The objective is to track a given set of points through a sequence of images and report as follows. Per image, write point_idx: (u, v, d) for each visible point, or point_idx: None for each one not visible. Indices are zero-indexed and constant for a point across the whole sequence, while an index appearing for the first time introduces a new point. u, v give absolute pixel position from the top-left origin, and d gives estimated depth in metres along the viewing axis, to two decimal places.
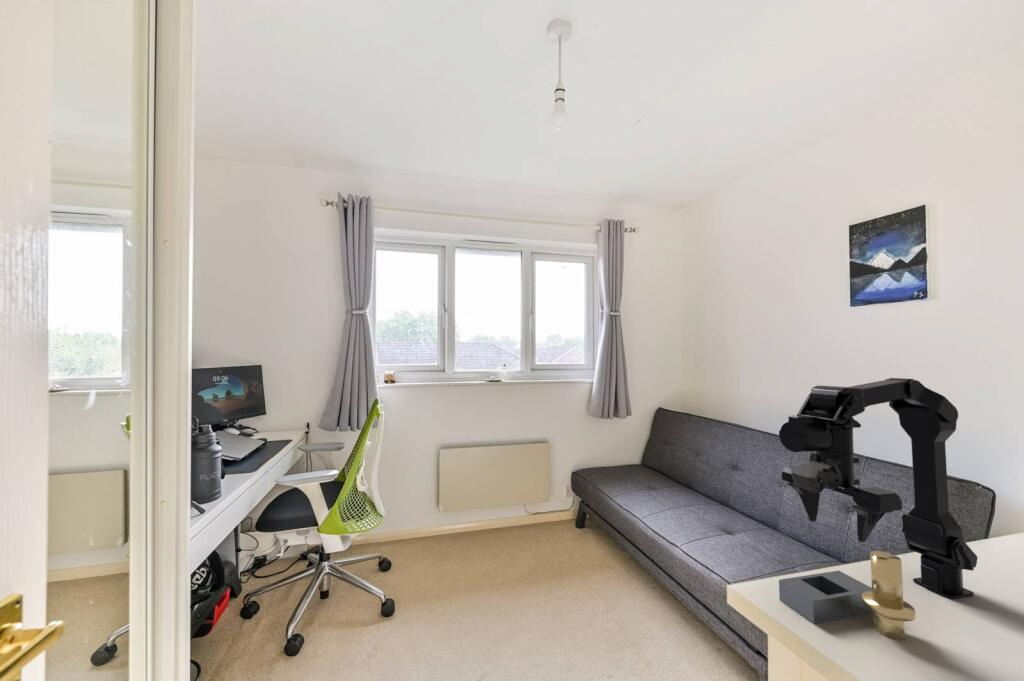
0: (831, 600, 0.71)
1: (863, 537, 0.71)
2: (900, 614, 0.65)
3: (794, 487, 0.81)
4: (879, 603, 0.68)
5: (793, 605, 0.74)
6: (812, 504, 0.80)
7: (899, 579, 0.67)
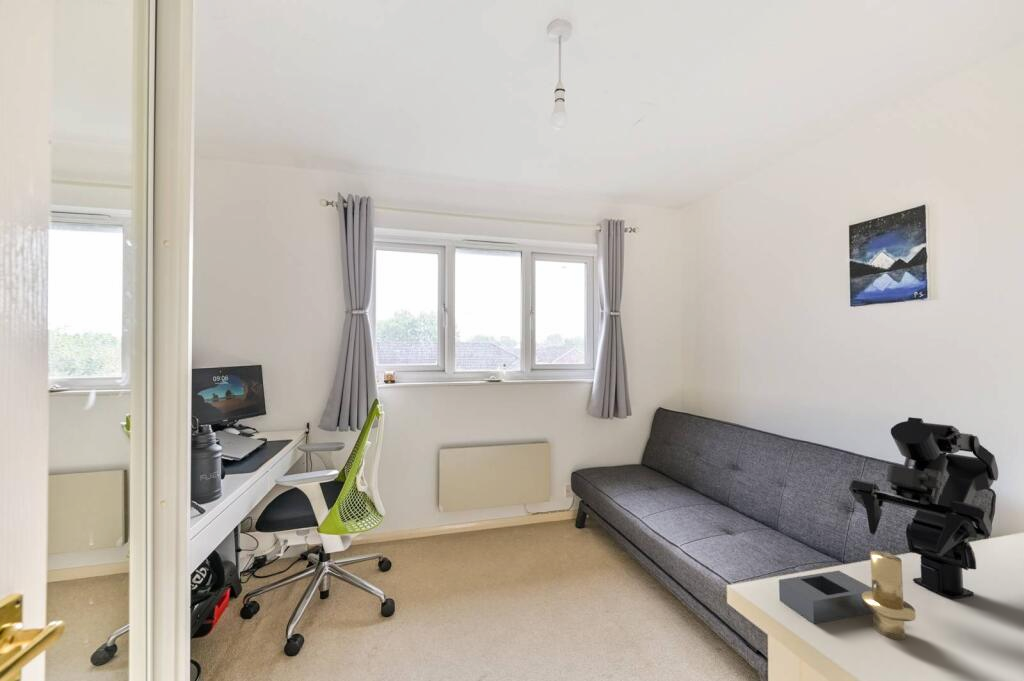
0: (831, 600, 0.71)
1: (943, 549, 0.69)
2: (900, 614, 0.65)
3: (865, 495, 0.80)
4: (879, 603, 0.68)
5: (793, 605, 0.74)
6: (875, 519, 0.78)
7: (899, 579, 0.67)
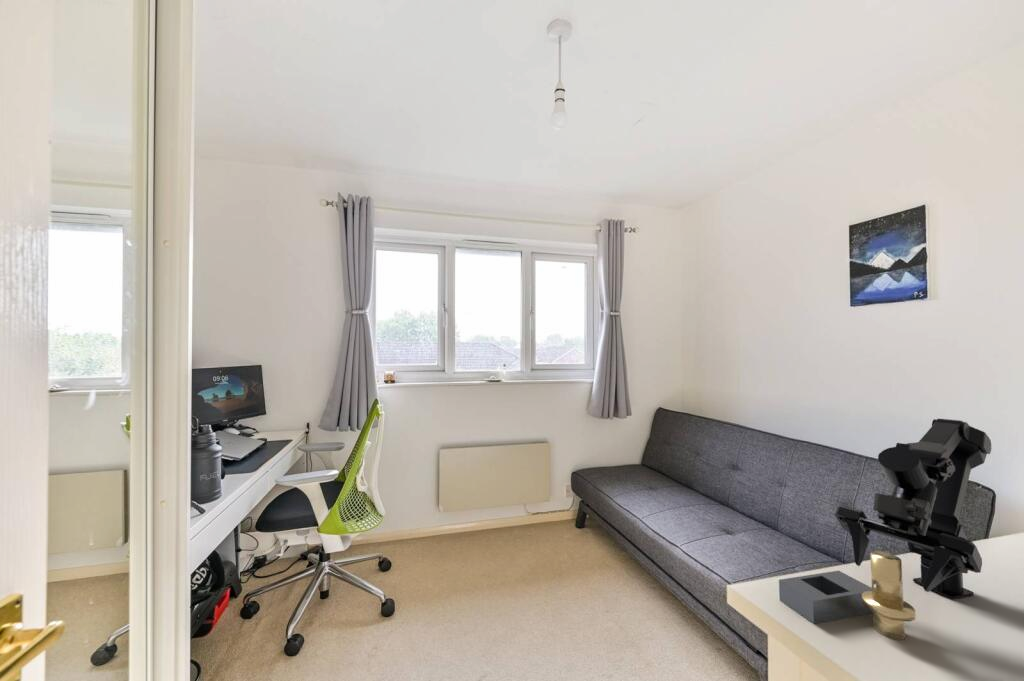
0: (831, 600, 0.71)
1: (930, 585, 0.65)
2: (900, 614, 0.65)
3: (851, 523, 0.76)
4: (879, 603, 0.68)
5: (793, 605, 0.74)
6: (862, 549, 0.75)
7: (899, 579, 0.67)
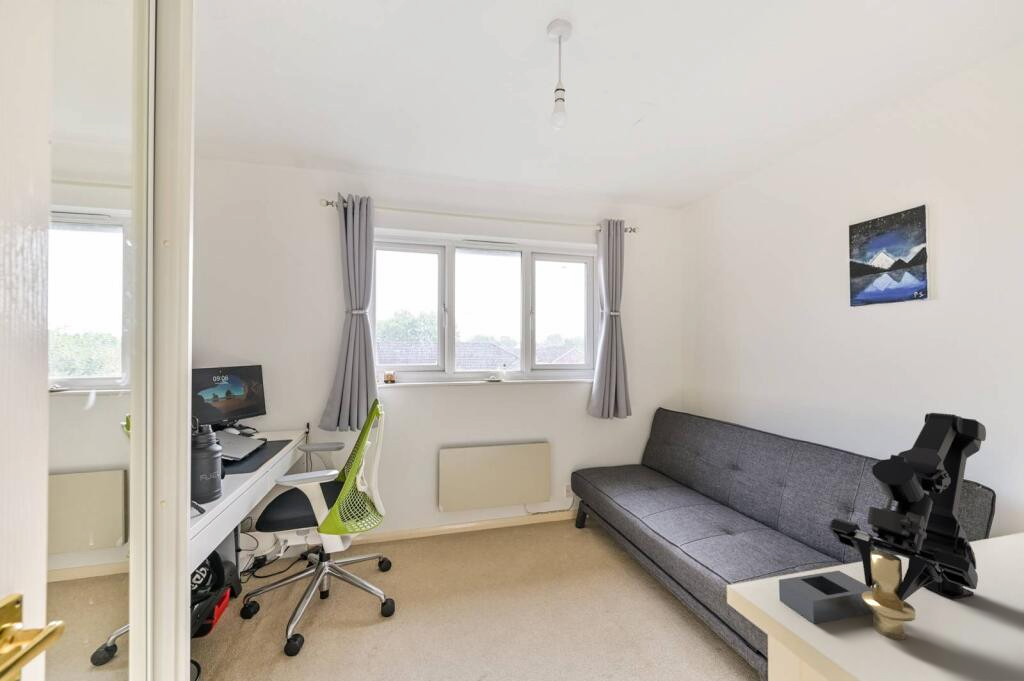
0: (831, 600, 0.71)
1: (905, 594, 0.66)
2: (900, 614, 0.65)
3: (861, 542, 0.73)
4: (879, 603, 0.68)
5: (793, 605, 0.74)
6: None
7: (899, 579, 0.67)
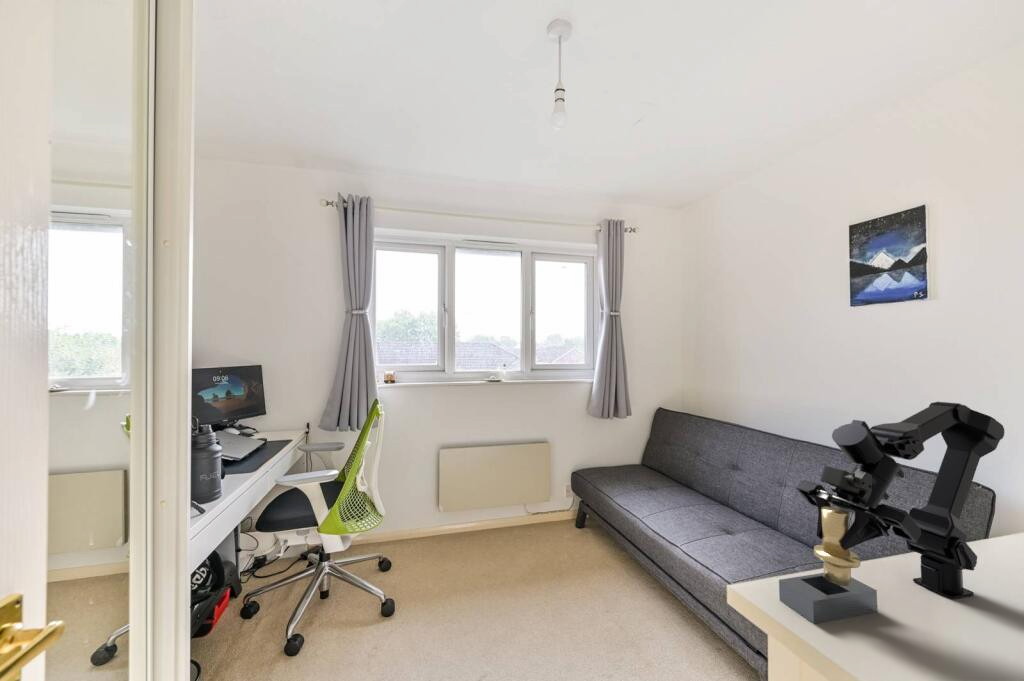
0: (831, 600, 0.71)
1: (847, 544, 0.71)
2: (841, 561, 0.71)
3: (819, 499, 0.78)
4: (826, 552, 0.74)
5: (793, 605, 0.74)
6: None
7: (843, 531, 0.72)
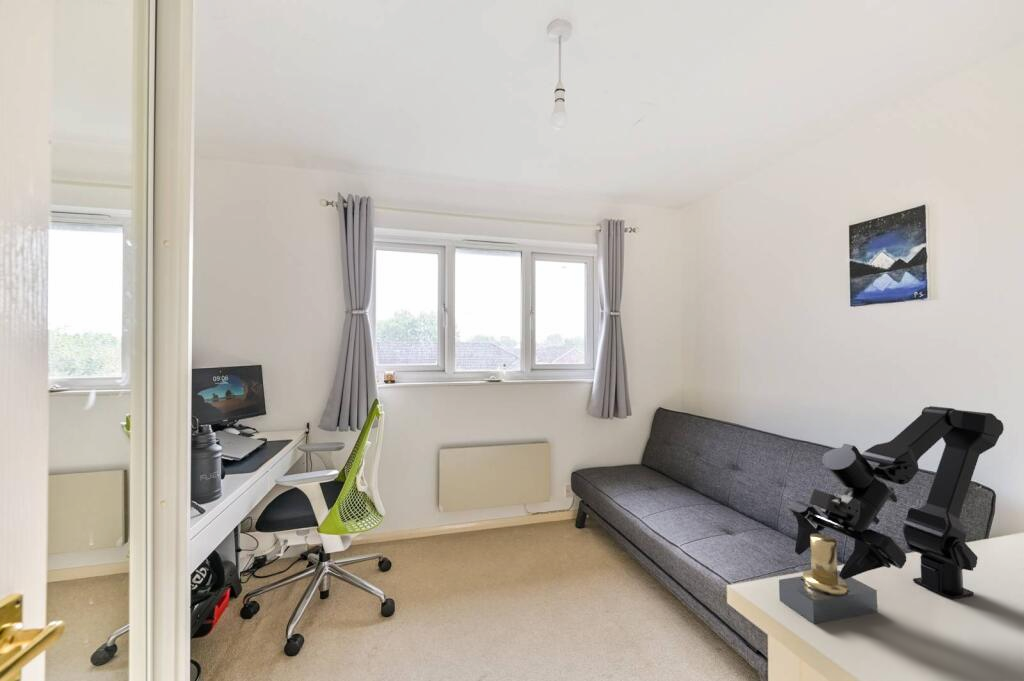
0: (831, 600, 0.71)
1: (846, 573, 0.71)
2: (827, 588, 0.73)
3: (799, 517, 0.82)
4: (813, 578, 0.76)
5: (793, 605, 0.74)
6: (805, 540, 0.80)
7: (831, 558, 0.74)
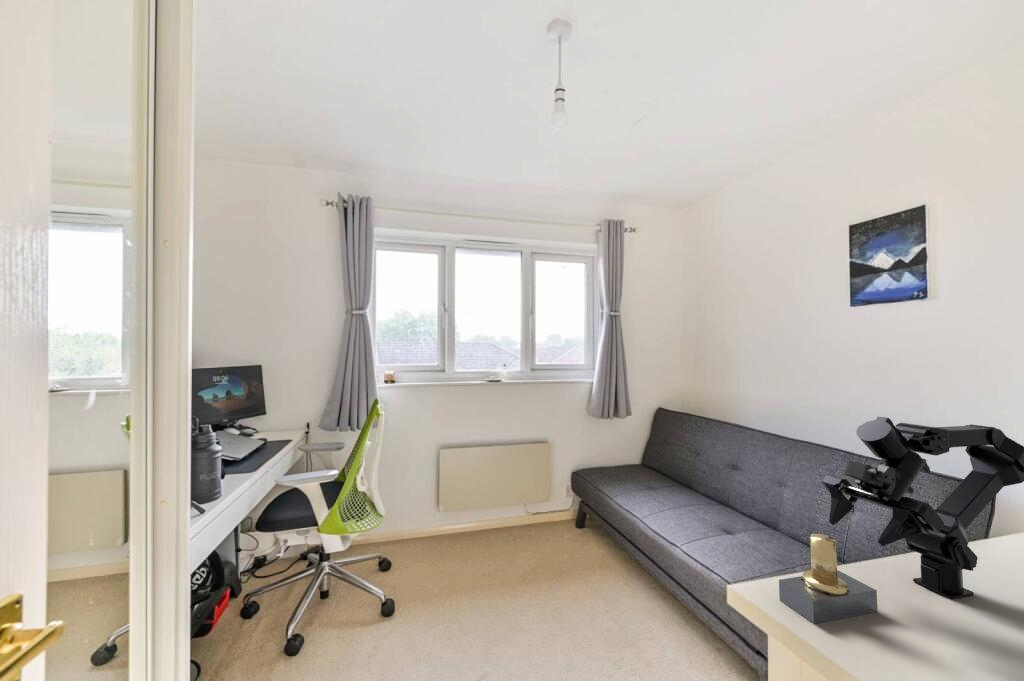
0: (831, 600, 0.71)
1: (884, 540, 0.72)
2: (827, 588, 0.73)
3: (832, 489, 0.84)
4: (813, 578, 0.76)
5: (793, 605, 0.74)
6: (839, 511, 0.82)
7: (831, 558, 0.74)
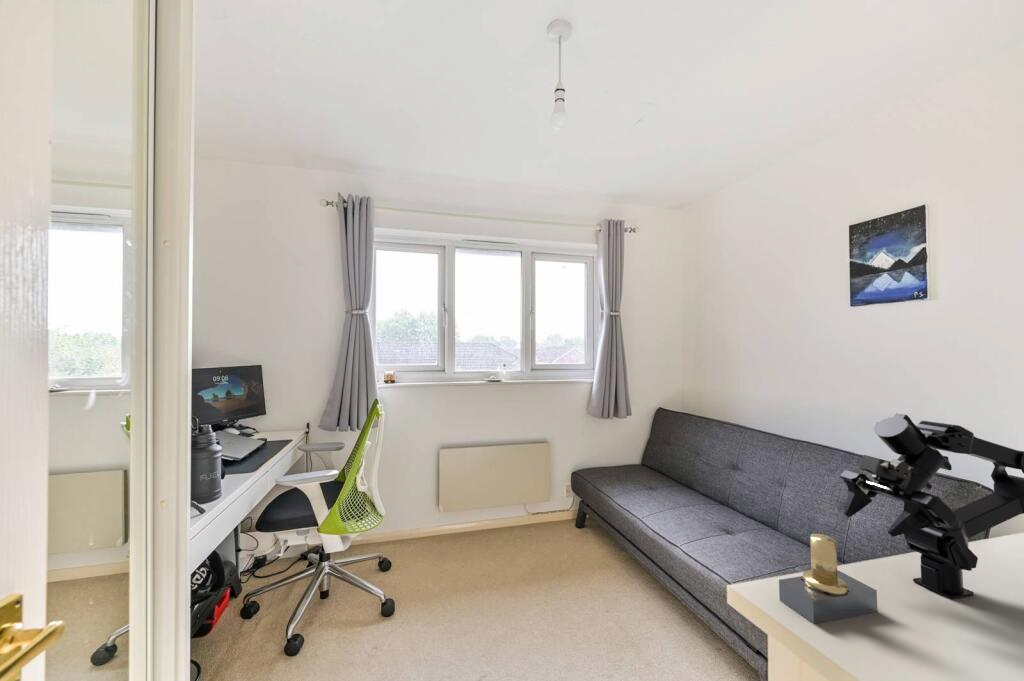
0: (831, 600, 0.71)
1: (894, 531, 0.75)
2: (827, 588, 0.73)
3: (849, 483, 0.87)
4: (813, 578, 0.76)
5: (793, 605, 0.74)
6: (855, 504, 0.85)
7: (831, 558, 0.74)
